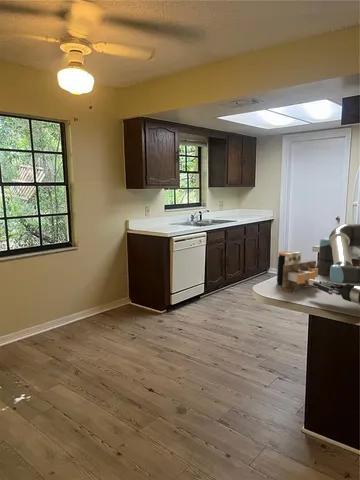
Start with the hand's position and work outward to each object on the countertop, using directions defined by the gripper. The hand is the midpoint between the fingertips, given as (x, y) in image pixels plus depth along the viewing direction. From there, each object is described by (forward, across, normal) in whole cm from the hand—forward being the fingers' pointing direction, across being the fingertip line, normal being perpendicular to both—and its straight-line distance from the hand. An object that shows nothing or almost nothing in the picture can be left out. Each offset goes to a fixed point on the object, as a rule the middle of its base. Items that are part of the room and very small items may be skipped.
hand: (309, 281), depth 177 cm
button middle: (+9, +8, -2) cm, 13 cm away
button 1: (+9, 0, -2) cm, 9 cm away
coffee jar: (+22, +8, -8) cm, 25 cm away
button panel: (+11, +8, -8) cm, 16 cm away
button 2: (+14, +16, -2) cm, 21 cm away
